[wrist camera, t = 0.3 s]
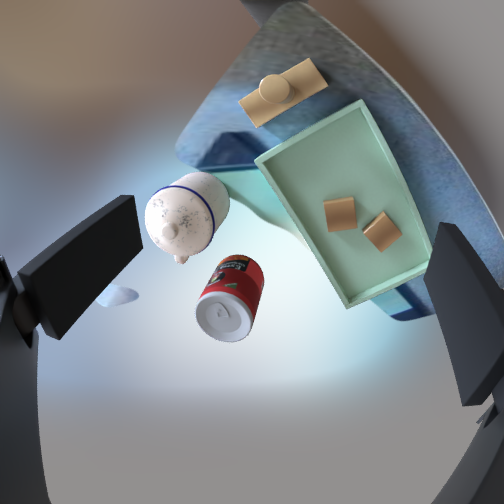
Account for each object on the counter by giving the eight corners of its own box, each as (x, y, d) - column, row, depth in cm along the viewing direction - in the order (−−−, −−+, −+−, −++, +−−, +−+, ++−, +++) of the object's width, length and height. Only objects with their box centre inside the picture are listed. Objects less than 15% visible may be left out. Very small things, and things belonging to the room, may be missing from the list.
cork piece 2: (361, 229, 40) (363, 233, 39) (383, 210, 39) (385, 214, 37) (379, 248, 41) (381, 253, 40) (400, 230, 39) (402, 234, 38)
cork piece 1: (323, 200, 40) (323, 204, 38) (352, 196, 39) (354, 199, 37) (327, 228, 41) (328, 232, 40) (356, 224, 40) (357, 228, 39)
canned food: (248, 244, 46) (230, 286, 36) (274, 287, 48) (263, 334, 39) (207, 264, 49) (182, 305, 39) (234, 302, 51) (216, 348, 41)
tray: (256, 157, 40) (253, 160, 38) (359, 98, 34) (362, 98, 31) (345, 300, 47) (346, 309, 45) (433, 258, 41) (438, 266, 39)
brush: (243, 101, 36) (217, 101, 26) (309, 61, 32) (309, 44, 22) (260, 126, 38) (241, 135, 27) (327, 87, 34) (334, 80, 23)
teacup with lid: (176, 163, 42) (134, 185, 32) (237, 177, 41) (212, 204, 31) (168, 237, 48) (132, 275, 37) (223, 253, 47) (198, 297, 37)
